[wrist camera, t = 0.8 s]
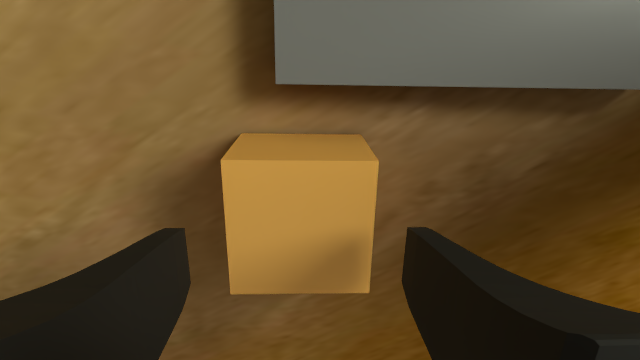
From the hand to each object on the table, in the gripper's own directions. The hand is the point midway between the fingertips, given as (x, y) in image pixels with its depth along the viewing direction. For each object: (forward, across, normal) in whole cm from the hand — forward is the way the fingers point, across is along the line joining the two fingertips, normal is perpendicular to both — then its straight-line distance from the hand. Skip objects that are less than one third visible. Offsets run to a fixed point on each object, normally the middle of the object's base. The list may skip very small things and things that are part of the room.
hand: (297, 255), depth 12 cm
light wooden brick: (+6, 0, 0) cm, 6 cm away
